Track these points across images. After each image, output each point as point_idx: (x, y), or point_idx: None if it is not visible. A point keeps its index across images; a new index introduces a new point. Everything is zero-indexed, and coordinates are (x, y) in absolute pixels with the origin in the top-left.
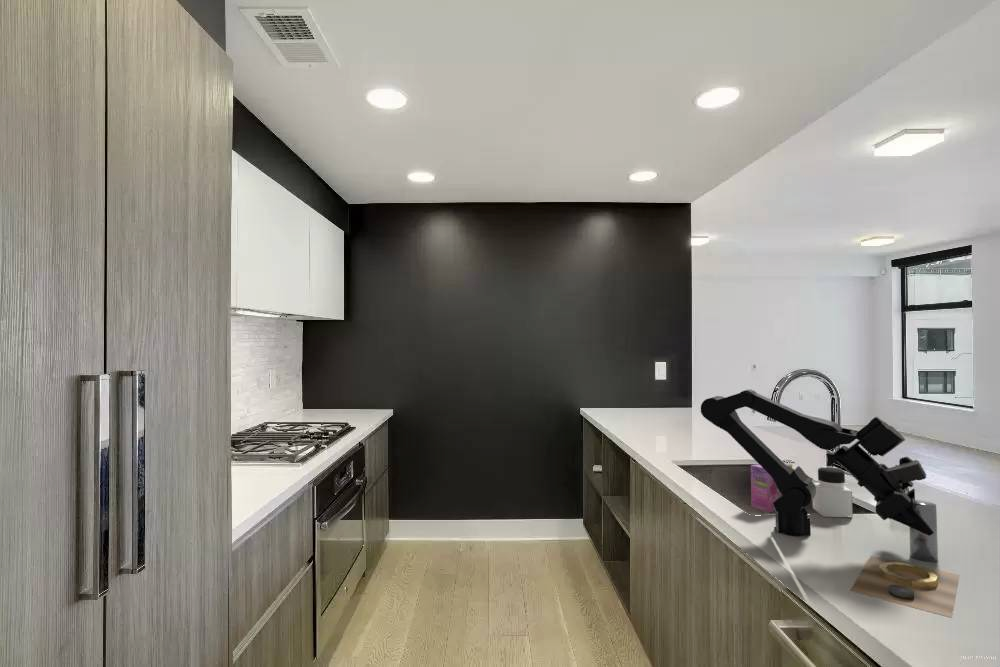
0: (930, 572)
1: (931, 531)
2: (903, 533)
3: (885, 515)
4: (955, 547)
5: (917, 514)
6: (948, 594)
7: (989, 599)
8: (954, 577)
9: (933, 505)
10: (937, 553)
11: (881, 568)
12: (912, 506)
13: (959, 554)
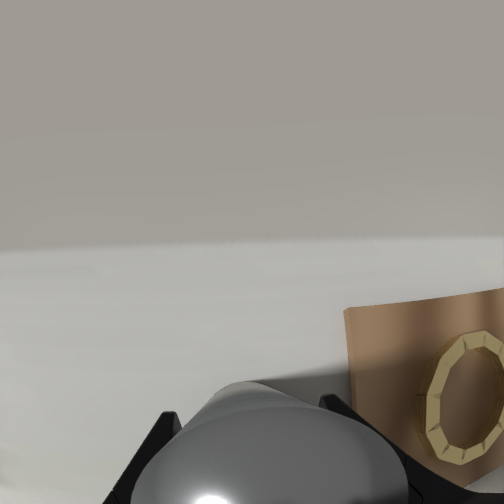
0: (449, 357)
1: (342, 401)
2: (7, 458)
3: None
4: (30, 334)
5: (435, 475)
6: (486, 303)
7: (420, 241)
8: (381, 315)
9: (296, 431)
10: (253, 383)
11: (491, 444)
12: (501, 497)
13: (84, 326)
